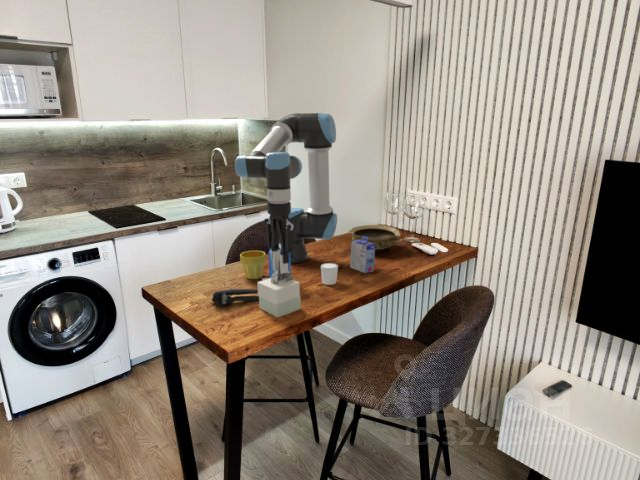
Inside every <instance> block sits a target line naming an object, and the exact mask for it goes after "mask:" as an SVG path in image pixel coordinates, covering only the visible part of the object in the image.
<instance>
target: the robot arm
mask: <svg viewBox="0 0 640 480" xmlns="http://www.w3.org/2000/svg"><path fill="white" fill-rule="evenodd" d="M336 140H337V129H336V123H335V120H334V118H333V115H331V114H330V113H322V112H312V113H307V112H306V113H298V112H297V113H296V112H295V113H292V114H288V115H286V116H284V117H282V118H280V119H279V120H277V121H276V122H275V123H274V124H273V125H272V126H271V127H270V129H269V133H268V134H267V135H266V136H265V137H264V138H263V139H262V140H261V141H260V142H259V143H258V144H257V146H256V147H254V148H253V149H252V151H250V152H249V154H248V155H247V154H244V155H238V156H237V157H236V159H235V160H234V170H235V174H236V175H237V176H238V177H240V178H246V179H266V200H267V201H268V202H267V203H266V206H267V207H266V209H267V210H266V212H267V214H268V215H269V217H268V218H264V220H263V222H264V224H265V229H266V230H265V233H266V243H267V248H269V249H270V248H271V250H272V259H273V270H276V269H279V264H278V263H279V260H280V273H285V272H288V263H289V253H291V264H298V263H302V262H305V261H307V260H308V259H309V253H308V250H307V248H306V244H305V239H315V240H316V239H317V240H331V239H333V237H334V236H335V233H336V229H337V224H338V214H337V213H335V212H334V208H333V207H332V206H331V204H330V168H329V167H330V165H329V163H330V162H329V151H330V150H331V148H333V144H334V143H335V142H336ZM291 143H303V148H304V149H305V150H306V152H307V159H308V161H307V163H308V165H307V166H308V187H309V188H308V190H309V191H308V192H309V206H308V207H307V209H306V211H305V210H304V208H303V207H292V202H290V201H291V200H292V197H291V196H292V194H291V193H292V191H291V179H292V180H293V179H295V178H296V177H298V176H299V175H300V174H301V172H302V170H303V163H302V161H301V159H300V158H298V157H297V156H295V155H290V153H288V152H286V151H282V149H283V148H284V147H285V146H288V145H290V144H291ZM279 243H281V251H282V253H281V252H280V250H278V249H280V247H279Z"/></svg>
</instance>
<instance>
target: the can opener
mask: <svg viewBox="0 0 640 480" xmlns="http://www.w3.org/2000/svg"><path fill="white" fill-rule="evenodd" d="M253 294H254V295H253ZM255 294H257V295H255ZM232 296H233V297H232ZM211 301H212V302H213V303H214V304H217V305H219V306H220V307H221V306H222V307H225V306H228V305H229V304H233V303H234V302H257V301H259V296H258V288H256V289H255V288H254V289H253V288H239V289H238V288H237V289H236V288H235V289H233V288H229V289H226V290H225V289H224V290H218V291H215V292H213V294H212V298H211Z"/></svg>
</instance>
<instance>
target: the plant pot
mask: <svg viewBox="0 0 640 480" xmlns="http://www.w3.org/2000/svg"><path fill="white" fill-rule="evenodd" d="M239 260H240V263H241V265H242V268H243V271H244V274H245V278H246V279H248V280H257V279H262V278H263V274H264V267H265V263H266V262H267V254H266V252H265V251H262V250H248V251H243V252H241V253H240V254H239Z"/></svg>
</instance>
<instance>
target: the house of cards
mask: <svg viewBox="0 0 640 480" xmlns="http://www.w3.org/2000/svg"><path fill="white" fill-rule="evenodd" d="M278 264H279V269H276V270H275V272H274V274H273V275H272V277H271V283H274V284H277V285H279V284H282V283H285V282H287V281H290V280H294V275H292V272H291V273H290V272H285V273H280V260H279V263H278ZM278 270H279V271H278ZM266 279H268V277H264V278H263V277H262V281H263V280H266Z"/></svg>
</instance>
